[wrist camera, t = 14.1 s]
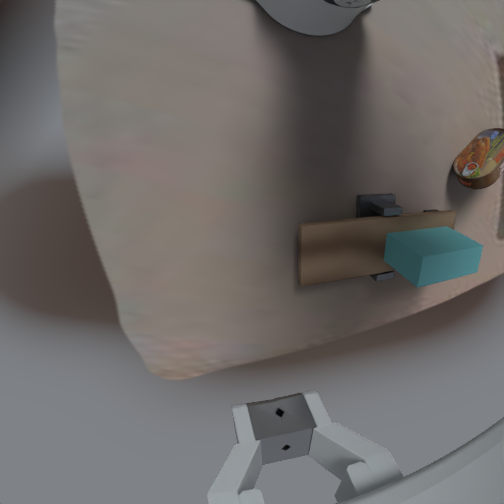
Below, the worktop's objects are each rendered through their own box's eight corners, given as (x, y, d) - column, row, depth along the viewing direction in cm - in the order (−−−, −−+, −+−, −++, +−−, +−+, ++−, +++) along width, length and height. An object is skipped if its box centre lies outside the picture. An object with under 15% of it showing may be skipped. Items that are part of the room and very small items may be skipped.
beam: (296, 219, 38) (301, 224, 36) (447, 207, 42) (456, 210, 41) (295, 280, 42) (300, 287, 40) (440, 255, 46) (447, 260, 44)
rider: (386, 233, 39) (423, 256, 32) (447, 226, 41) (483, 245, 34) (383, 260, 41) (417, 287, 34) (442, 250, 43) (476, 272, 36)
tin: (486, 124, 41) (521, 130, 34) (491, 139, 42) (525, 146, 35) (443, 169, 43) (480, 180, 35) (449, 184, 44) (485, 197, 37)
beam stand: (357, 195, 42) (375, 204, 37) (438, 191, 44) (457, 199, 40) (351, 272, 46) (366, 287, 42) (428, 259, 49) (445, 270, 45)
